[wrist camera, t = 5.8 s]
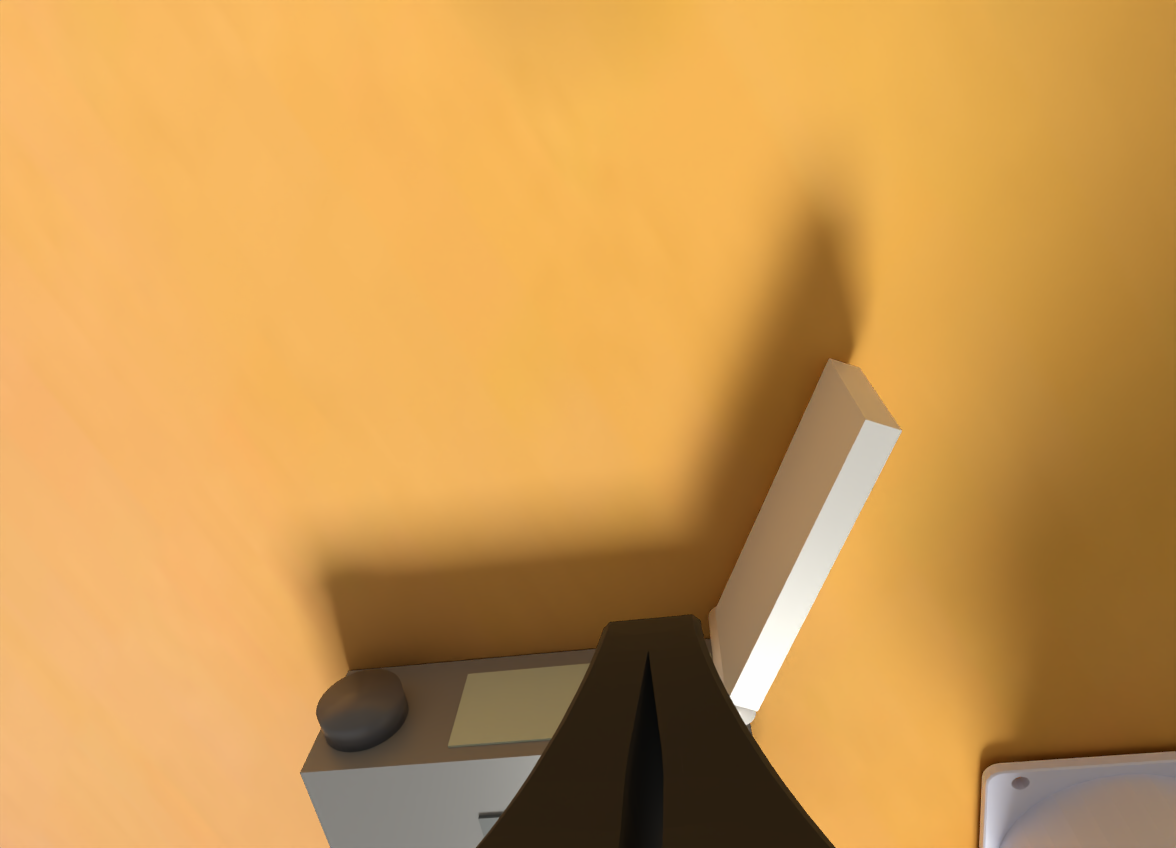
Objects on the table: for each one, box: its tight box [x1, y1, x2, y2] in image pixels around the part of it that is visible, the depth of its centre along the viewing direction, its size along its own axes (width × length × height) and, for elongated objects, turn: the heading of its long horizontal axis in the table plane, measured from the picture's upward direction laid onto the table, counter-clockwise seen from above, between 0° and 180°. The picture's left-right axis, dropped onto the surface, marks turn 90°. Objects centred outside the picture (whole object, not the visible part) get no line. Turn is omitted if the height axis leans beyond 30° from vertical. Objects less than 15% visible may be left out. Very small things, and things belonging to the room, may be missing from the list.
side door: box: [708, 358, 902, 725], centre depth 21 cm, size 9×1×4 cm, turn 163°
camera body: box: [300, 639, 752, 848], centre depth 24 cm, size 12×8×4 cm, turn 99°
